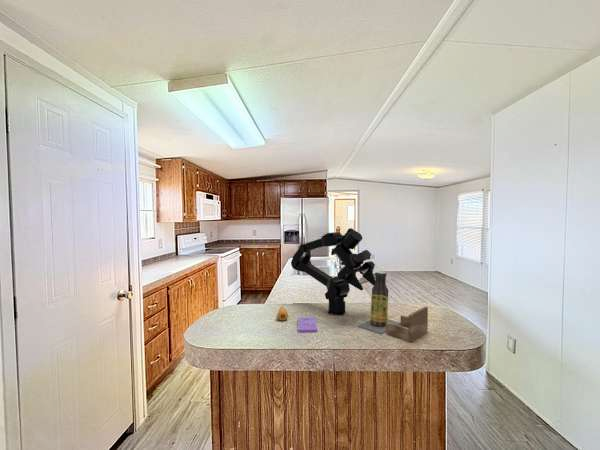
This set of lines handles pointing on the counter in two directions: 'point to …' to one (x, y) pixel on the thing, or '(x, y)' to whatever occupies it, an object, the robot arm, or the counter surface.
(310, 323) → the sponges
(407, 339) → the bottle rack
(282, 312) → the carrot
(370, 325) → the charcoal mat
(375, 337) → the counter surface
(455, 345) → the counter surface
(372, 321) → the sauce bottle
